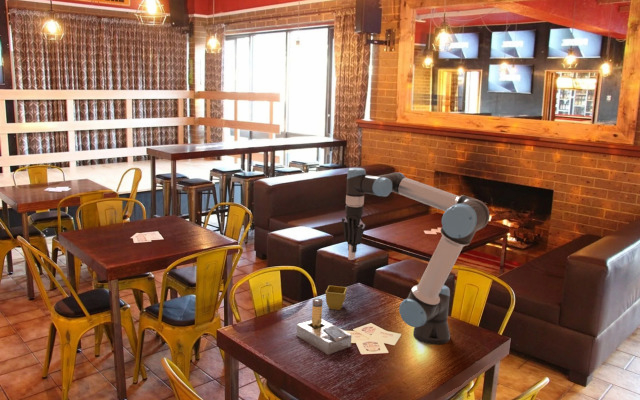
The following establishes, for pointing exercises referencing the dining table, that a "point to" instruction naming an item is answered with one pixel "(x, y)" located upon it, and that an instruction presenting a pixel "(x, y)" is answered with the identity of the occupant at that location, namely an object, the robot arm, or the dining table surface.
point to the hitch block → (321, 337)
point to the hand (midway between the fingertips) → (351, 258)
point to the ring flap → (335, 333)
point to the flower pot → (335, 297)
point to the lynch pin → (317, 313)
